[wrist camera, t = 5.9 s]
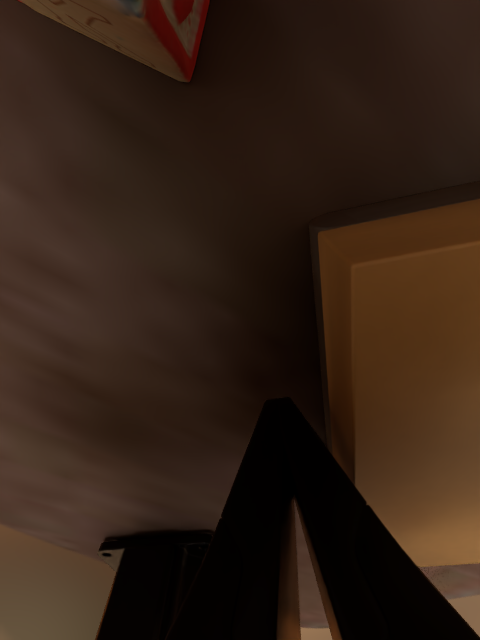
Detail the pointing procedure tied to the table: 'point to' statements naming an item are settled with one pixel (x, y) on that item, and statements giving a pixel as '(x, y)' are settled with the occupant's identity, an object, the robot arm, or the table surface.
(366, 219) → the chalkboard eraser
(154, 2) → the tan printed boxy piece
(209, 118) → the table surface
